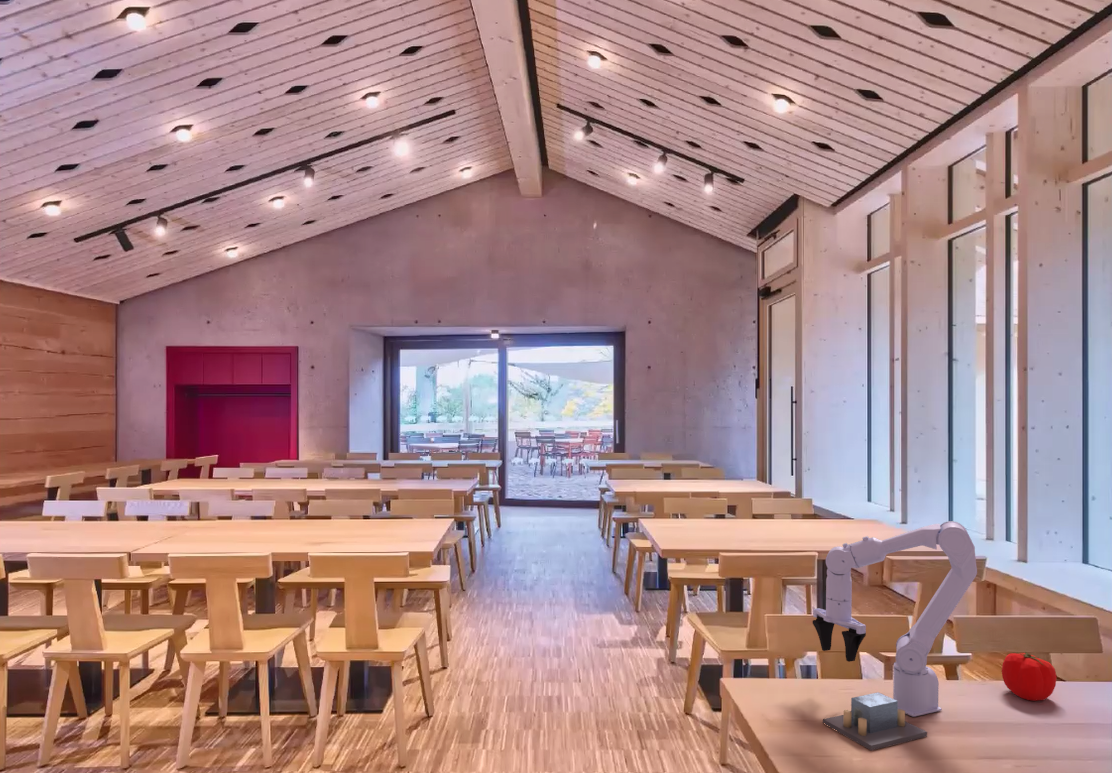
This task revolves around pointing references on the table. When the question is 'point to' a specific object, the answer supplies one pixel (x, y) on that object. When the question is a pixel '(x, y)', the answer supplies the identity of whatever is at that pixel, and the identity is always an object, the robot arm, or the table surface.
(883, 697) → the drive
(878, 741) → the grey pegged base plate
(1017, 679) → the tomato
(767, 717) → the table surface
